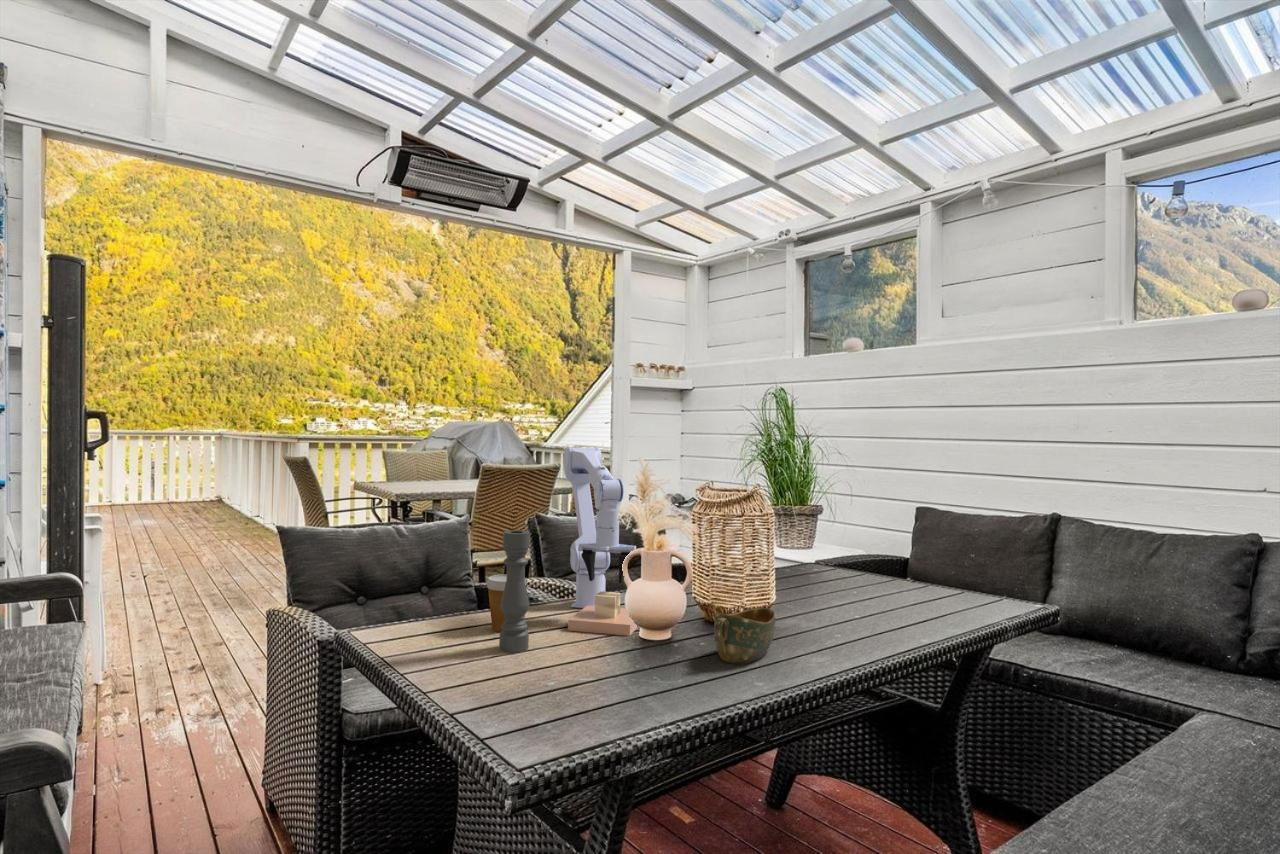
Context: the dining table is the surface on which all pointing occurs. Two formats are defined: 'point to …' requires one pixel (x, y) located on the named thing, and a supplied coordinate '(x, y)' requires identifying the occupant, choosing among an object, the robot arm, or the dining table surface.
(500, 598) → the disposable coffee cup
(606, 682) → the dining table surface
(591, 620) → the terracotta base
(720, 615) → the creamer
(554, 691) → the dining table surface
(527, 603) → the candle holder
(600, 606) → the birch block
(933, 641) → the dining table surface
